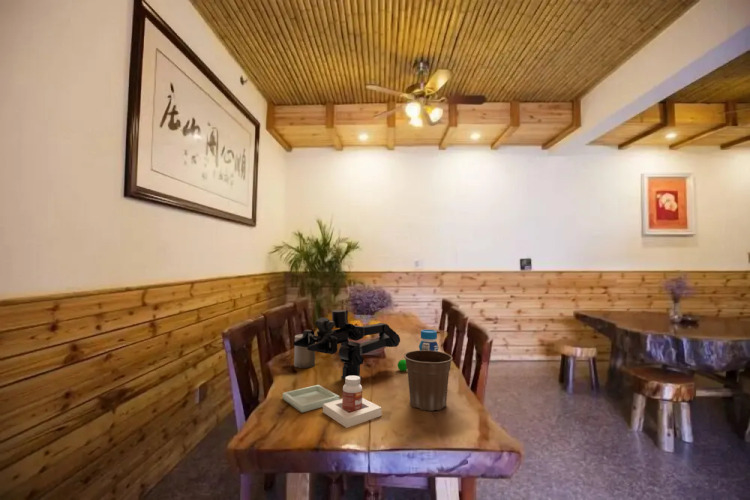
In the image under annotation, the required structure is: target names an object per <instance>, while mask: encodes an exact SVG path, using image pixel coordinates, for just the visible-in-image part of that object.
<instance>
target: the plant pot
mask: <svg viewBox="0 0 750 500" xmlns="http://www.w3.org/2000/svg"><path fill="white" fill-rule="evenodd" d="M403 357H404V360H406V368H407V370H406V371H407V378H408V380H407V381H408V390H409V402H410V404H411V406H412V407H413V408H415V409H418V408H419V410H422V411H426V410H427V412H435V411H434V410H437V411H441V410H443V409H444V408H445V407H447V398H448V397H447V396H448V386H449V385H448V384H449V376H450V375H449V374H450V371H451V363H452V360H453V356H452V355H450V354H449V353H446V352H442V351H439V350H438V351H430V350H420V349H418V350H411V351H408V352H406V353H404V355H403Z"/></svg>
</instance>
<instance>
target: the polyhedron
mask: <svg viewBox="0 0 750 500" xmlns="http://www.w3.org/2000/svg"><path fill="white" fill-rule="evenodd" d="M397 368H398V370H399V371H401V372H405V371H407V368H406V359H401V360H399V361H398V362H397Z"/></svg>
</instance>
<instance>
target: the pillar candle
mask: <svg viewBox="0 0 750 500" xmlns="http://www.w3.org/2000/svg"><path fill="white" fill-rule="evenodd" d="M302 336H303V333H300V334H296V335H294V342H295V341H296V340H298V339H300V338H301V337H302ZM293 348H294V350H293V351H294V353H293V355H294V356H293V359H294V360H293V366H294V367H295V368H297V367H298V368H299V369H307V368H312V367H314V366H316V363H315V362H316V351H311V350H307V347H300V346H294V347H293Z"/></svg>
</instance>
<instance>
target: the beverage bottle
mask: <svg viewBox="0 0 750 500" xmlns="http://www.w3.org/2000/svg"><path fill="white" fill-rule="evenodd" d="M437 332H438V331H437V330H434V329H421V331H420V339H422V340H421V341H420V343H419V345H418V348H419V349H418V350H430V351H439V345H438V342H437V339H438V333H437Z"/></svg>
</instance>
